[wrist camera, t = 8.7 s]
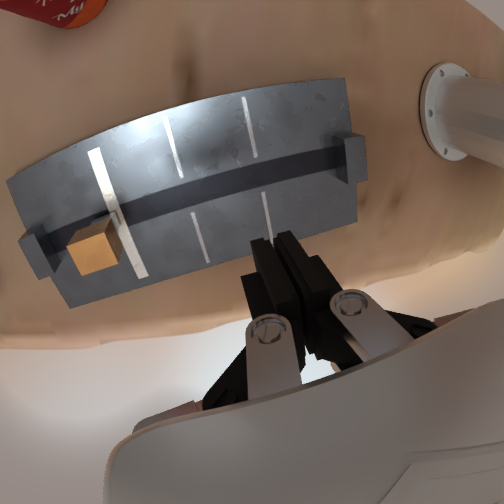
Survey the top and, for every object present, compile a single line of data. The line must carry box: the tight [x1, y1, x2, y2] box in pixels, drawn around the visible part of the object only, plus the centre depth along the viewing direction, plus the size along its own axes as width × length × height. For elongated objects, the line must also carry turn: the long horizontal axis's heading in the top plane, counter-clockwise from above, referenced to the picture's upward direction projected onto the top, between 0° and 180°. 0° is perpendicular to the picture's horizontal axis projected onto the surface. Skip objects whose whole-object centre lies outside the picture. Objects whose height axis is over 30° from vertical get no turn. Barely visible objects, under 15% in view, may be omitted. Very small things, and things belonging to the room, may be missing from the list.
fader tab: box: [66, 212, 123, 276], centre depth 19 cm, size 3×2×5 cm
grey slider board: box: [6, 78, 367, 309], centre depth 23 cm, size 30×14×4 cm, turn 102°
